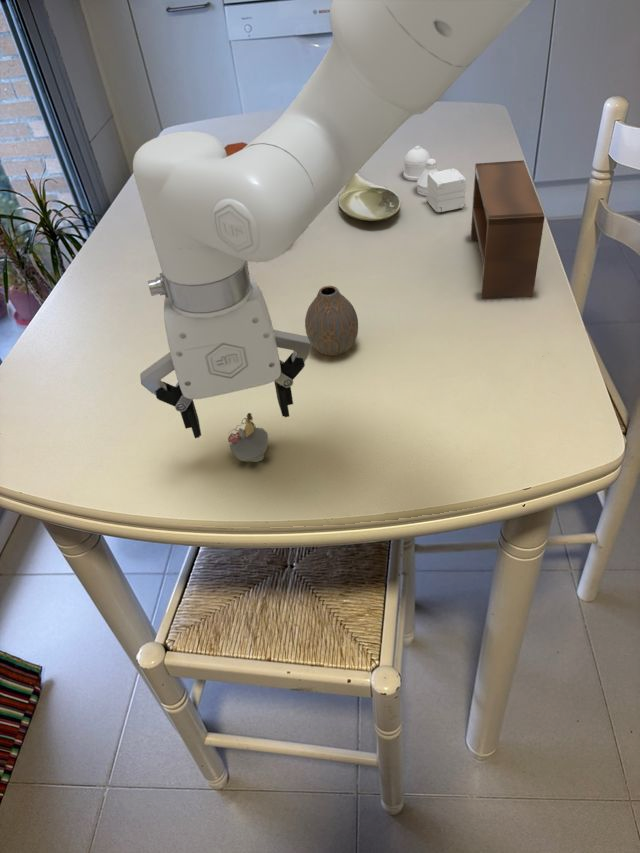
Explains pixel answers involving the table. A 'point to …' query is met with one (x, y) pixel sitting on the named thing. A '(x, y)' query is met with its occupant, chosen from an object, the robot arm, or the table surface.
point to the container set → (435, 181)
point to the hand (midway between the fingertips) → (240, 419)
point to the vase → (331, 322)
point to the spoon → (368, 200)
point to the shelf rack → (506, 228)
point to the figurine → (249, 441)
